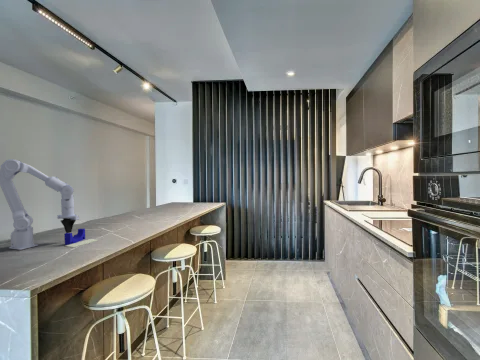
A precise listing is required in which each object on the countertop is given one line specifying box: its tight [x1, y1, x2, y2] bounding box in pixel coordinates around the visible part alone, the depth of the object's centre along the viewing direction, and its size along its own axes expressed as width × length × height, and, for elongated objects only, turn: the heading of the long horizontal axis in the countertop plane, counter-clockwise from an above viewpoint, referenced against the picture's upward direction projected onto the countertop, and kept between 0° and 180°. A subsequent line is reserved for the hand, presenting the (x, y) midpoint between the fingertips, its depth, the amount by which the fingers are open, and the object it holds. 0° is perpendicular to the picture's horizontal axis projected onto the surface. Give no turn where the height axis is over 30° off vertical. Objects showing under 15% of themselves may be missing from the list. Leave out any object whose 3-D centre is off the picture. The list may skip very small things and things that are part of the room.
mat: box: [65, 238, 99, 248], centre depth 135 cm, size 6×14×1 cm, turn 158°
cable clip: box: [63, 228, 86, 246], centre depth 138 cm, size 12×4×6 cm, turn 178°
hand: (68, 232), depth 139 cm, fingers closed
